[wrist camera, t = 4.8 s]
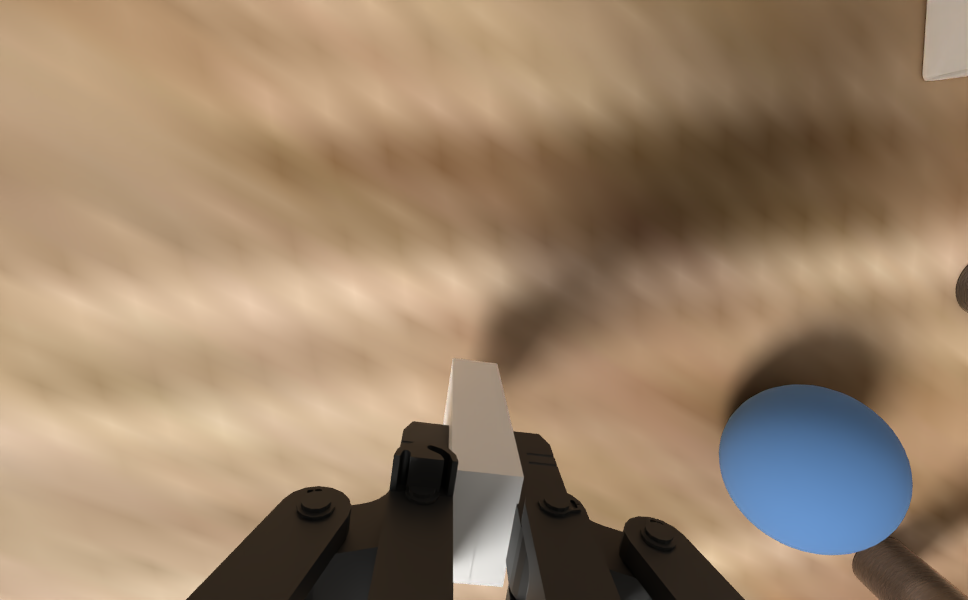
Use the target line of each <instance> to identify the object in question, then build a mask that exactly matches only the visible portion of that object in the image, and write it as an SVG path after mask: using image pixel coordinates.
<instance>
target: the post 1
mask: <svg viewBox="0 0 968 600" xmlns="http://www.w3.org/2000/svg"><path fill="white" fill-rule="evenodd" d="M853 572H854V574H855V576H856V577H857V578H858V579H859V580H860V581H861V582H862V583H863V584H864V585H865V586H866V587H867V588H868V589H869V590H870V591H871V592H872V593H873V594H874V595H875V596H876V597H877V598H878V599H879V600H968V597H967V596H966V595H965V594H964V593H963V592H961V591H960V590H959V589H958V588H956V587H955V586H954V585H953V584H951V583H950V582H949V581H948V580H947V579H945V578H944V577H943V576H942V575H940V574H939V573H938V572H937V571H935V570H934V569H933V568H932V567H931V566H929V565H928V564H927V563H926V562H924V561H923V560H922V559H921V558H919V557H918V556H917V555H916V554H915V553H913V552H912V551H911V550H910V549H908V548H907V547H906V546H905V545H903V544H902V543H901V542H900V541H898V540H897V539H894V538H891V537H887V538H886V539H884V540H883V541H881V542H880V543H878V544H876V545H875V546H872V547H870V548H868V549H865V550H862V551H859V552H857V553H856V555H855V557H854V560H853Z"/></svg>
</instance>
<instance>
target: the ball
mask: <svg viewBox="0 0 968 600" xmlns="http://www.w3.org/2000/svg"><path fill="white" fill-rule="evenodd" d="M719 462H720V469H721V474H722V478H723V481H724V483H725V486H726V489H727V490H728V492H729V494H730V496H731V498H732V500H733V501H734V503H735V504H736V506H737V507H738V508H739V509H740V511H741V512H742V513H743V514H744V515H745V516H746V518H747V519H748V520H749V521H750V522H751V523H753V524H754V525H755V526H756V527H757V528H758V529H760V530H761V531H762V532H764V533H765V534H766V535H768V536H770V537H772V538H773V539H775V540H777V541H779V542H780V543H783V544H785V545H787V546H789V547H792V548H795V549H798V550H801V551H805V552H810V553H815V554H822V555H842V554H850V553H855V552H859V551H862V550H865V549H868V548H870V547H872V546H875V545H876V544H878V543H880V542H881V541H883V540H884V539H886V538H887V537H888V536H889V535H890V534H891V533H893V532H894V531H895V530H896V529H897V527H898V526H899V524H900V523H901V522H902V520H903V518H904V517H905V514H906V512H907V510H908V508H909V505H910V501H911V497H912V486H913V485H912V473H911V468H910V464H909V460H908V457H907V455H906V452H905V450H904V448H903V446H902V444H901V442H900V441H899V439H898V437H897V436H896V435H895V433H894V432H893V430H892V429H891V428H890V427H889V426H888V425H887V423H886V422H885V421H884V420H883V419H882V418H881V417H879V416H878V415H877V414H876V413H875V412H874V411H873V410H871V409H870V408H868V407H867V406H866V405H864V404H863V403H861V402H859V401H858V400H856V399H854V398H852V397H850V396H848V395H846V394H843V393H841V392H838V391H835V390H832V389H828V388H825V387H820V386H814V385H800V384H795V385H784V386H779V387H774V388H770V389H768V390H765V391H762V392H760V393H758V394H756V395H755V396H753V397H751V398H749V399H748V400H746V401H745V402H744V403H743V404H742V405H741V406H740V407H739V408H738V409H737V410H736V411H735V412H734V413H733V414H732V416H731V417H730V418H729V420H728V422H727V424H726V426H725V428H724V430H723V433H722V436H721V441H720V447H719Z"/></svg>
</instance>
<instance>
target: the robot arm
mask: <svg viewBox="0 0 968 600" xmlns="http://www.w3.org/2000/svg"><path fill="white" fill-rule="evenodd" d="M506 567H507V574H508V581H509V585H508V590H507V595H506V600H745V599H744V598H743V597H742V596H741V595H740V594H739V593H738V592H737V591H736V590H735V589H734V588H733V587H732V586H731V585H730V584H729V582H728V581H727V580H726V579H725V578H724V577H723V576H722V575H721V574H720V573H719V572H718V571H717V570H716V569H715V568H714V567H713V566H712V565H711V563H710V562H709V561H708V560H707V559H706V558H705V557H704V556H703V555H702V554H701V553H700V552H699V551H698V550H697V549H696V548H695V547H694V546H693V544H692V543H691V542H690V541H689V540H688V539H687V538H686V537H685V536H684V535H683V534H682V533H680V532H679V531H678V530H677V529H676V528H674V527H673V526H671V525H669V524H667V523H665V522H664V521H661V520H659V519H655V518H651V517H640V516H638V517H635V518H631V519H629V520H628V521H627V522H626V523H625V526H624V530H623V532H621V531H618V530H615V529H612V528H609V527H605V526H602V525H600V524H597V523H595V522H593V521H591V520H589V517H588V515H587V512H586V510H585V508H584V507H583V505H582V504H581V502H580V501H578V500H577V499H576V498H575V497H573V496H572V495H570V494H568V493H567V492H566V489H565V486H564V483H563V481H562V478H561V475H560V472H559V470H558V467H557V464H556V461H555V458H553V453H552V450H551V447H550V445H549V444H548V443H547V442H546V441H545V440H544V439H543V438H542V437H541V436H540V435H539V434H532V433H523V432H514V431H513V428H512V424H511V420H510V416H509V411H508V407H507V403H506V399H505V394H504V390H503V386H502V382H501V377H500V373H499V369H498V364H497V363H490V362H482V361H474V360H466V359H458V358H453V360H452V367H451V374H450V381H449V387H448V394H447V401H446V408H445V414H444V421H443V425H440V424H431V423H422V422H412V423H411V424H410V425H409V426H407V427H406V428H405V429H404V431H403V436H402V440H401V445H400V448H398V449H397V451H396V453H395V454H394V459H393V467H392V475H391V483H390V490H389V492H388V493H387V494H386V495H384V496H383V497H381V498H380V499H377V500H375V501H372V502H369V503H364V504H358V505H351V504H350V500H349V498H348V497H347V496H346V495H345V494H344V493H343V492H341V491H338V490H336V489H333V488H329V487H321V486H317V487H308V488H304V489H301V490H298V491H295V492H293V493H291V494H290V495H289V496H287V497H286V498H284V499H283V500H282V501H281V502H280V503H279V504H278V505H277V506H276V507H275V509H274V510H273V511H272V512H271V513H270V514H269V515H268V516H267V517H266V518H265V519H264V520H263V521H262V522H261V523H260V524H259V525H258V526H257V527H256V528H255V529H254V530H253V531H252V532H251V533H250V534H249V535H248V536H247V537H246V538H245V539H244V541H243V542H242V543H241V544H240V545H239V546H238V547H237V548H236V549H235V550H234V551H233V552H232V553H231V554H230V555H229V556H228V557H227V558H226V559H225V560H224V561H223V562H222V563H221V564H220V565H219V566H218V567H217V568H216V569H215V570H214V571H213V573H212V574H211V575H210V576H209V577H208V578H207V579H206V580H205V581H204V582H203V583H202V584H201V585H200V586H199V587H198V588H197V589H196V590H195V591H194V592H193V593H192V594H191V595H190V596H189V597H188V598H187V599H186V600H453V583H462V584H474V585H486V586H498V587H503V583H504V578H505V572H506Z"/></svg>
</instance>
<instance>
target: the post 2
mask: <svg viewBox="0 0 968 600" xmlns="http://www.w3.org/2000/svg"><path fill="white" fill-rule="evenodd" d="M956 297H957V301H958V303H959V305H960V307H961V308H962V309H963V310H964V311H966V312H968V266H967V267H966V268H965V269H964V271H963V272H962V274H961V275H960V277H959V280H958V283H957V287H956Z"/></svg>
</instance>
